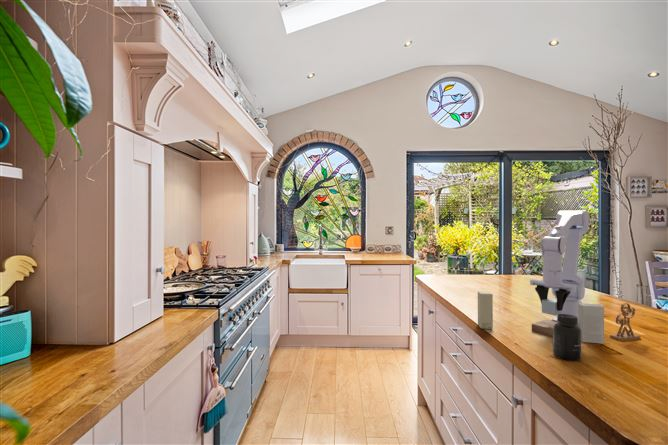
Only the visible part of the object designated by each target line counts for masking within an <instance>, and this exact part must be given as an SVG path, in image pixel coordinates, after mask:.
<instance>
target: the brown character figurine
mask: <svg viewBox="0 0 668 445" xmlns="http://www.w3.org/2000/svg"><path fill="white" fill-rule="evenodd" d="M625 305H627V306H625ZM620 311H621V313H619V314H617V316H616V317H615V324H617V325H620V326H619V329H618V331H617V333H613V334H609V338H610V339H611V340H612V339H613V340H615V341H619V342H629V341H638V340H641V335H638V334H635V333H634V331H633V329H632V327H631V325H630V319H633V317H634V316H635V315H636V309H635V307H631V305H630V303H628V302H623V303H622V304H621V306H620ZM630 314H631V315H630ZM629 315H630V316H629ZM621 316H622V317H623V318H620V317H621ZM627 327H628V328H627ZM628 329H629V330H628Z"/></svg>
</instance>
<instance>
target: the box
mask: <svg viewBox="0 0 668 445" xmlns="http://www.w3.org/2000/svg"><path fill="white" fill-rule="evenodd" d="M493 296H494V295H493V293H492V292H490V291H483V290H482V291H480V290H479V291H477V325H478V327H479V328H480V329H484V330H486V329H487V330H493V329H494V322H493V321H494V320H493V319H494V315H493V314H494V313H493V312H494V310H493V308H494V306H493V302H494V300H493V299H494V298H493Z"/></svg>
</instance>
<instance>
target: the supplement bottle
mask: <svg viewBox="0 0 668 445" xmlns="http://www.w3.org/2000/svg"><path fill="white" fill-rule="evenodd" d="M557 321H558V323H556V324H555V325H554V327H553V337H552V354H553V355H554V357H557V358H559V359H560V360H564V361H570V362H579V361H581V359H582V341H581V340H582V331H581V329H580V328H579V327H578V318H577V317H576V316H573V315H568V314H558V319H557ZM557 321H556V322H557Z"/></svg>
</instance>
